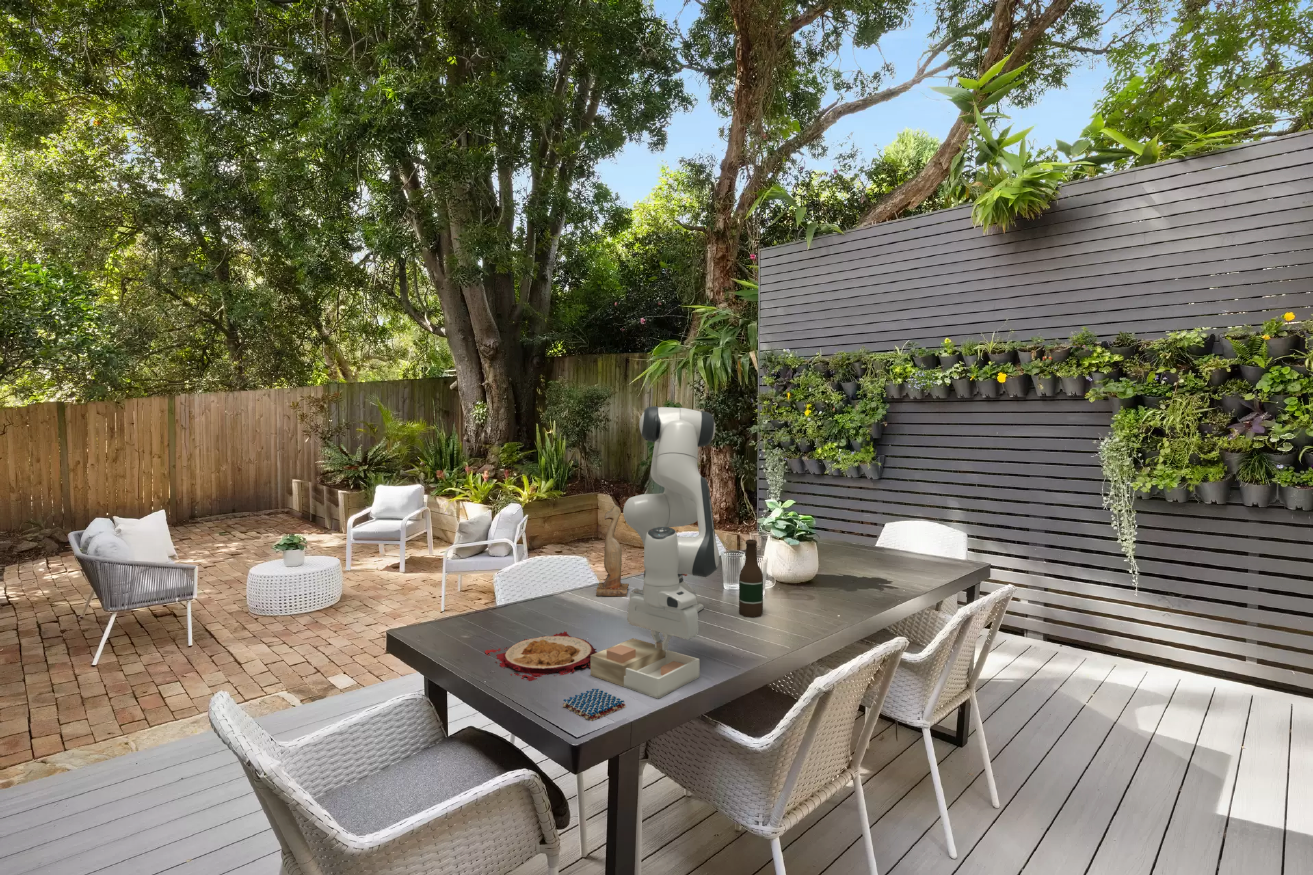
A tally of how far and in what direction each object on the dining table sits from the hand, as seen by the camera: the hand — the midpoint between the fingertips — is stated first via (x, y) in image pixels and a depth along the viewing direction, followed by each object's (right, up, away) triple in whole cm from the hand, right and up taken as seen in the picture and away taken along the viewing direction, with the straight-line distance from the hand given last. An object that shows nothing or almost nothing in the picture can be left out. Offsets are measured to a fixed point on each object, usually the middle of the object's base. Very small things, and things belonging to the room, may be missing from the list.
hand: (661, 648), depth 166 cm
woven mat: (-15, -7, -19) cm, 25 cm away
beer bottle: (+29, -4, +48) cm, 56 cm away
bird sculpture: (-17, -4, +74) cm, 76 cm away
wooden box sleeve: (-8, -6, +1) cm, 10 cm away
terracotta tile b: (-10, -1, -3) cm, 11 cm away
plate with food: (-30, -6, +10) cm, 32 cm away
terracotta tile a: (+3, -3, -3) cm, 5 cm away
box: (0, -6, -6) cm, 8 cm away
